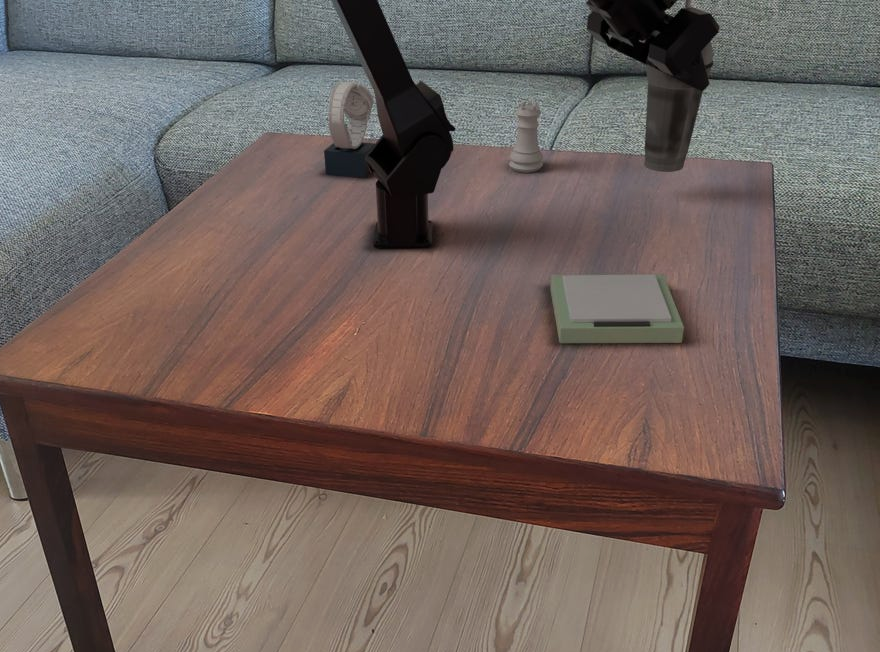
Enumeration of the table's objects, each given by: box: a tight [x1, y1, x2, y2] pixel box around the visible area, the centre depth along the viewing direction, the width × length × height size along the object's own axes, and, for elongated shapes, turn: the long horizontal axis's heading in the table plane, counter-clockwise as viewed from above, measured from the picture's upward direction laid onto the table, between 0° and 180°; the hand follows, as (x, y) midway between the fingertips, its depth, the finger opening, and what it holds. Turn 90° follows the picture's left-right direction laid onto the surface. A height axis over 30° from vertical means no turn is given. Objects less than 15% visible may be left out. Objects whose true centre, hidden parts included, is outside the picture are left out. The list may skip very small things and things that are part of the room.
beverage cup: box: [644, 0, 714, 173], centre depth 104 cm, size 7×7×20 cm
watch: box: [323, 81, 376, 179], centre depth 120 cm, size 6×8×11 cm
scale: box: [549, 273, 685, 344], centre depth 88 cm, size 11×11×2 cm
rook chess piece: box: [508, 101, 544, 174], centre depth 120 cm, size 4×4×8 cm
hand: (687, 79), depth 105 cm, fingers closed on beverage cup, 7 cm apart
